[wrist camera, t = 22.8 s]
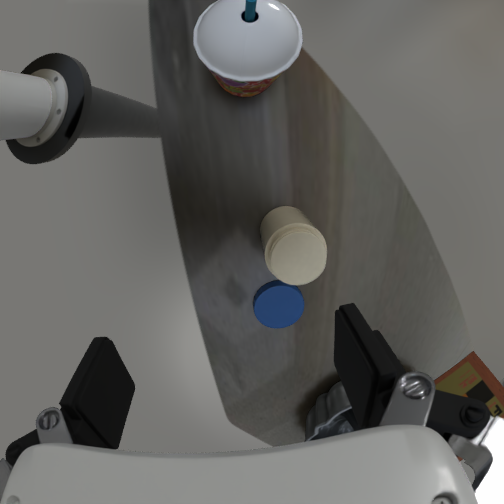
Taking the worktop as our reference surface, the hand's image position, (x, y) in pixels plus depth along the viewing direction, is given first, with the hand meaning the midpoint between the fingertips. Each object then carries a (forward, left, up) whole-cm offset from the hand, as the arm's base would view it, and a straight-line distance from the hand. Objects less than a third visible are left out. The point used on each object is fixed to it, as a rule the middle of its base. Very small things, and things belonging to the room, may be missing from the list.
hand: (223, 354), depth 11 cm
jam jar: (+7, -1, -27) cm, 28 cm away
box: (+60, -20, -27) cm, 69 cm away
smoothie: (-5, +16, -27) cm, 32 cm away
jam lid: (+10, -11, -26) cm, 30 cm away
